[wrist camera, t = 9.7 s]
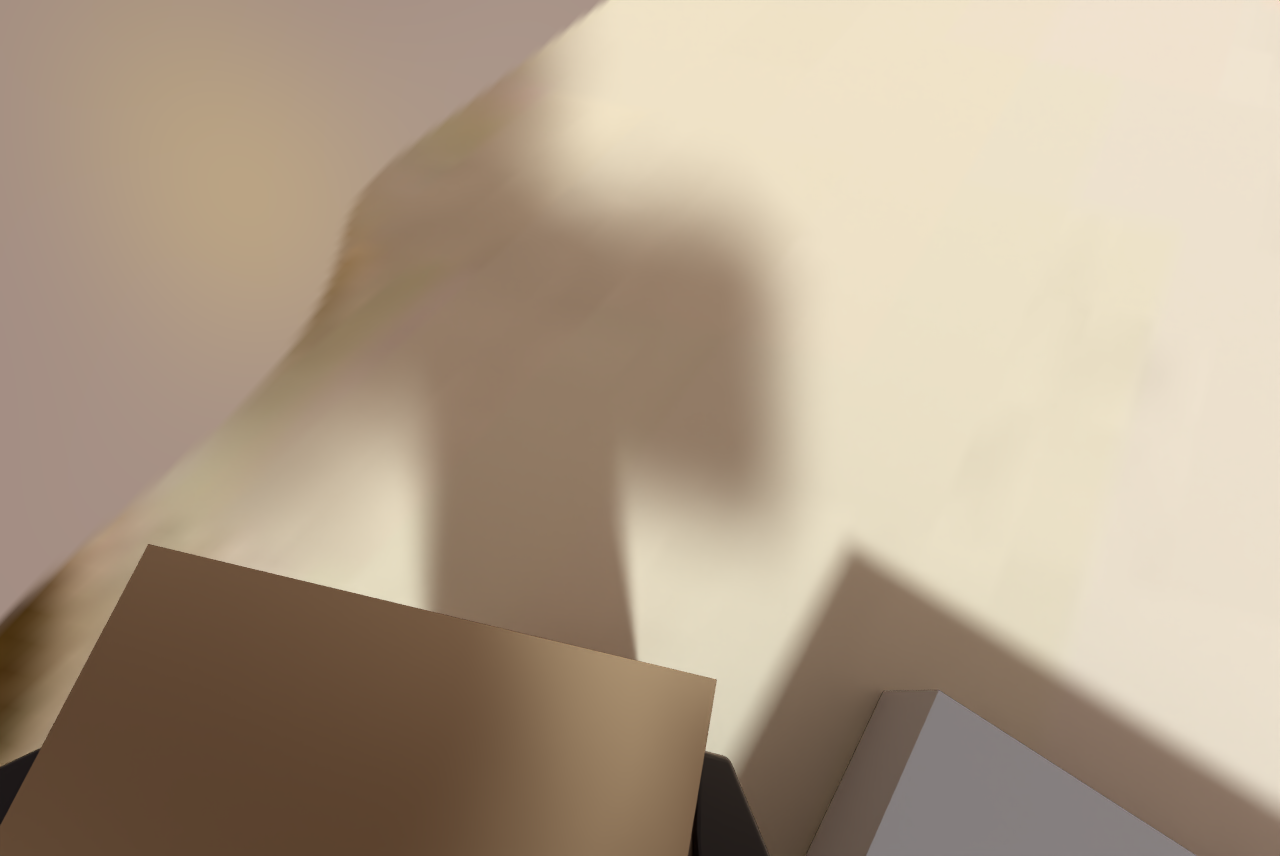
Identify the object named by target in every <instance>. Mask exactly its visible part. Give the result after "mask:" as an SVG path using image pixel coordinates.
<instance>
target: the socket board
mask: <svg viewBox="0 0 1280 856" xmlns="http://www.w3.org/2000/svg"><path fill="white" fill-rule="evenodd" d="M806 856H1196V855H1195V854H1193V853H1192V852H1190V851H1189V850H1187V849H1186V848H1184V847H1182V846H1181V845H1179V844H1178V843H1176V842H1175V841H1173V840H1172V839H1170V838H1168V837H1167V836H1165V835H1164V834H1162V833H1161V832H1159V831H1158V830H1156V829H1154V828H1153V827H1151V826H1150V825H1148V824H1147V823H1145V822H1144V821H1142V820H1140V819H1139V818H1137V817H1136V816H1134V815H1133V814H1131V813H1130V812H1128V811H1126V810H1125V809H1123V808H1122V807H1120V806H1119V805H1117V804H1116V803H1114V802H1112V801H1111V800H1109V799H1108V798H1106V797H1105V796H1103V795H1102V794H1100V793H1098V792H1097V791H1095V790H1094V789H1092V788H1091V787H1089V786H1088V785H1086V784H1084V783H1083V782H1081V781H1080V780H1078V779H1077V778H1075V777H1074V776H1072V775H1070V774H1069V773H1067V772H1066V771H1064V770H1063V769H1061V768H1059V767H1058V766H1056V765H1055V764H1053V763H1052V762H1050V761H1049V760H1047V759H1045V758H1044V757H1042V756H1041V755H1039V754H1038V753H1036V752H1035V751H1033V750H1031V749H1030V748H1028V747H1027V746H1025V745H1024V744H1022V743H1021V742H1019V741H1017V740H1016V739H1014V738H1013V737H1011V736H1010V735H1008V734H1007V733H1005V732H1003V731H1002V730H1000V729H999V728H997V727H996V726H994V725H993V724H991V723H989V722H988V721H986V720H985V719H983V718H982V717H980V716H979V715H977V714H975V713H974V712H972V711H971V710H969V709H968V708H966V707H965V706H963V705H961V704H960V703H958V702H957V701H955V700H954V699H952V698H951V697H949V696H947V695H946V694H944V693H943V692H941V691H940V690H908V691H883V693H882V695H881V697H880V699H879V701H878V703H877V706H876V708H875V710H874V712H873V714H872V716H871V718H870V720H869V723H868V725H867V727H866V729H865V731H864V733H863V735H862V737H861V740H860V742H859V744H858V746H857V748H856V750H855V752H854V754H853V757H852V759H851V761H850V763H849V765H848V767H847V769H846V771H845V774H844V776H843V778H842V780H841V782H840V784H839V786H838V788H837V791H836V793H835V795H834V797H833V799H832V801H831V803H830V805H829V808H828V810H827V812H826V814H825V816H824V818H823V820H822V822H821V825H820V827H819V829H818V831H817V833H816V835H815V837H814V839H813V842H812V844H811V846H810V848H809V850H808V852H807V854H806Z"/></svg>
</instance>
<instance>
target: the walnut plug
mask: <svg viewBox="0 0 1280 856" xmlns="http://www.w3.org/2000/svg"><path fill="white" fill-rule="evenodd" d="M716 681H717V680H716V679H712V678H708V677H704V676H699V675H695V674H691V673H687V672H683V671H678V670H674V669H670V668H666V667H662V666H657V665H653V664H649V663H645V662H641V661H637V660H632V659H628V658H624V657H620V656H616V655H611V654H607V653H603V652H599V651H595V650H590V649H586V648H582V647H578V646H574V645H569V644H565V643H561V642H557V641H553V640H548V639H544V638H540V637H536V636H532V635H527V634H523V633H519V632H515V631H511V630H507V629H502V628H498V627H494V626H490V625H486V624H481V623H477V622H473V621H469V620H465V619H460V618H456V617H452V616H448V615H444V614H439V613H435V612H431V611H427V610H423V609H418V608H414V607H410V606H406V605H402V604H397V603H393V602H389V601H385V600H381V599H377V598H372V597H368V596H364V595H360V594H356V593H351V592H347V591H343V590H339V589H335V588H330V587H326V586H322V585H318V584H314V583H309V582H305V581H301V580H297V579H293V578H288V577H284V576H280V575H276V574H272V573H267V572H263V571H259V570H255V569H251V568H247V567H242V566H238V565H234V564H230V563H226V562H221V561H217V560H213V559H209V558H205V557H200V556H196V555H192V554H188V553H184V552H179V551H175V550H171V549H167V548H163V547H158V546H154V545H150V544H148V546H147V548H146V550H145V552H144V554H143V555H142V557H141V559H140V561H139V563H138V565H137V567H136V569H135V571H134V573H133V574H132V576H131V578H130V580H129V582H128V584H127V586H126V588H125V590H124V591H123V593H122V595H121V597H120V599H119V601H118V603H117V605H116V607H115V609H114V610H113V612H112V614H111V616H110V618H109V620H108V622H107V624H106V626H105V628H104V629H103V631H102V633H101V635H100V637H99V639H98V641H97V643H96V645H95V647H94V648H93V650H92V652H91V654H90V656H89V658H88V660H87V662H86V664H85V666H84V667H83V669H82V671H81V673H80V675H79V677H78V679H77V681H76V683H75V685H74V686H73V688H72V690H71V692H70V694H69V696H68V698H67V700H66V702H65V704H64V705H63V707H62V709H61V711H60V713H59V715H58V717H57V719H56V721H55V723H54V724H53V726H52V728H51V730H50V732H49V734H48V736H47V738H46V740H45V742H44V743H43V745H42V747H41V749H40V751H39V753H38V755H37V757H36V759H35V760H34V762H33V764H32V766H31V768H30V770H29V772H28V774H27V776H26V778H25V779H24V781H23V783H22V785H21V787H20V789H19V791H18V793H17V795H16V797H15V798H14V800H13V802H12V804H11V806H10V808H9V810H8V812H7V814H6V816H5V817H4V819H3V821H2V823H1V825H0V856H688V851H689V845H690V839H691V833H692V827H693V821H694V815H695V809H696V803H697V797H698V791H699V785H700V778H701V772H702V766H703V760H704V754H705V748H706V742H707V736H708V730H709V724H710V718H711V712H712V706H713V700H714V693H715V687H716Z"/></svg>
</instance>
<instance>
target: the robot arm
mask: <svg viewBox="0 0 1280 856" xmlns="http://www.w3.org/2000/svg"><path fill="white" fill-rule="evenodd" d="M40 749H41V748H39V749H37V750H35V751H33V752H31V753H29V754H27V755H25V756H22V757H20V758H18V759H16V760H14V761H12V762H10V763H8V764H5V765H3V766H1V767H0V825H1V823H2V821H3V819H4V817H5V816H6V814H7V812H8V810H9V808H10V806H11V804H12V802H13V800H14V798H15V797H16V795H17V793H18V791H19V789H20V787H21V785H22V783H23V781H24V779H25V778H26V776H27V774H28V772H29V770H30V768H31V766H32V764H33V762H34V760H35V759H36V757H37V755H38V753H39V751H40ZM688 856H770V855H769V853H768V850H767V848H766V845H765V843H764V841H763V838H762V836H761V833H760V831H759V828H758V826H757V824H756V821H755V819H754V816H753V814H752V812H751V809H750V807H749V804H748V802H747V799H746V797H745V795H744V792H743V790H742V787H741V785H740V783H739V780H738V778H737V775H736V773H735V770H734V768H733V766H732V764H731V762H730V760H729V759H728V758H727V757H725V756H723V755H719V754H715V753H711V752H707V751H705V754H704V760H703V766H702V772H701V778H700V785H699V791H698V797H697V803H696V809H695V815H694V821H693V827H692V833H691V839H690V845H689V851H688Z"/></svg>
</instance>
